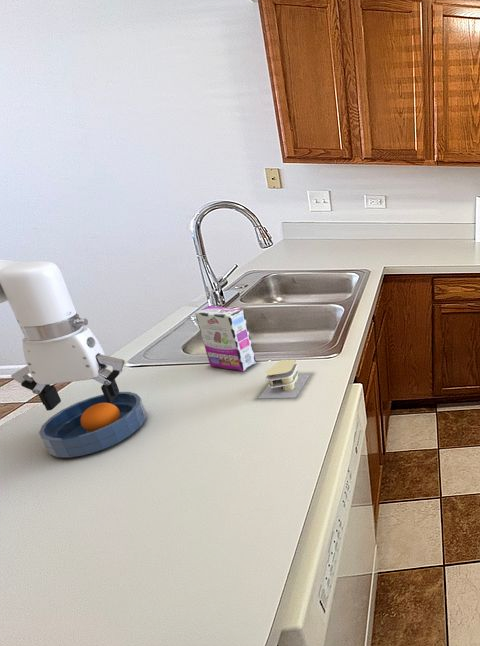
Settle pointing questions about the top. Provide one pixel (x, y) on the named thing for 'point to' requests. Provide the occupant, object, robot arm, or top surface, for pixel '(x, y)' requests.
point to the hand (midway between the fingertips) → (84, 402)
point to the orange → (99, 416)
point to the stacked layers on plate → (284, 380)
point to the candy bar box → (226, 338)
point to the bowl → (73, 440)
